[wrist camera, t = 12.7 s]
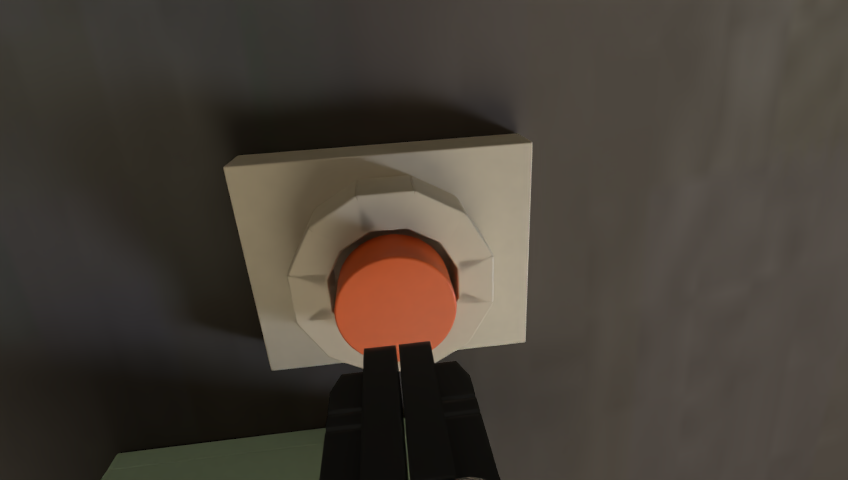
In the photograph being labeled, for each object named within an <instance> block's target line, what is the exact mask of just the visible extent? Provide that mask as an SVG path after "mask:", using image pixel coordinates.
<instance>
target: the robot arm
mask: <svg viewBox="0 0 848 480" xmlns="http://www.w3.org/2000/svg"><path fill="white" fill-rule="evenodd" d="M399 355H400V367H401V379H402V391H403V403H404V414H405V426H406V438H407V450H408V462H409V474H410V480H500V477H499V474H498V471H497V468H496V464H495V461H494V457H493V454H492V451H491V447H490V444H489V440H488V437H487V433H486V430H485V426H484V423H483V420H482V416H481V413H480V409H479V406H478V402H477V399H476V397H475V392H474V389H473V385H472V382H471V378H470V375H469V374H468V373H467V372H466V371H465V370H464V369H463V368H462V367H461V366H460V365H459V364H458V363H457V362H456V361H452V362H444V363H434V358H433V353H432V348H431V343H430V341H425V342H417V343H408V344H399ZM319 480H408V468H407V455H406V443H405V430H404V419H403V408H402V398H401V388H400V379H399V369H398V360H397V350H396V345H391V346H383V347H374V348H365V349H364V355H363V372H360V373H351V374H343V375H341V377H340V378H339V380H338V381H337V383H336V384H335V386H334V387H333V389H332V390H331V392H330V397H329V405H328V416H327V421H326V433H325V437H324V445H323V453H322V462H321V470H320V478H319Z"/></svg>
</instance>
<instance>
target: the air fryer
mask: <svg viewBox="0 0 848 480" xmlns="http://www.w3.org/2000/svg"><path fill="white" fill-rule="evenodd" d="M403 419H404V430H405V443H406V455H407V468H408V480H410V474H409V462H408V450H407V438H406V426H405V418H403ZM325 433H326V428H320V429H312V430H304V431H296V432H288V433H280V434H272V435H264V436H255V437H247V438H239V439H231V440H223V441H215V442H207V443H199V444H190V445H182V446H174V447H166V448H158V449H150V450H142V451H134V452H126V453H118V454H117V455H116V457H115V458H114V460H113V461H112V463H111V465H110V466H109V468H108V470H107V471H106V473H105V474H104V476H103V477H102V479H101V480H319V478H320V470H321V462H322V453H323V445H324V437H325Z"/></svg>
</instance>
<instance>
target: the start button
mask: <svg viewBox="0 0 848 480" xmlns="http://www.w3.org/2000/svg"><path fill="white" fill-rule="evenodd" d="M456 311H457V303H456V296H455V292H454V289H453V286H452V283H451V280H450V277H449V274H448V271H447V268H446V266H445V264H444V261H443V260H442V258H441V256H440V255H439V254H438V253H437V251H436V250H435V249H433V248H432V247H431V246H430V245H428V244H427V243H425V242H424V241H422V240H420V239H417V238H415V237H412V236H407V235H400V234H389V235H382V236H378V237H375V238H372V239H370V240H368V241H366V242H364V243H362V244H361V245H359V246H358V247H357V248H355V249H354V250H353V251H352V252H351V253H350V254H349V256H348V257H347V258H346V260H345V262H344V263H343V265H342V268H341V270H340V274H339V278H338V285H337V292H336V299H335V307H334V315H335V321H336V325H337V327H338V330H339V332H340V334H341V335H342V337H343V338H344V339H345V341H346V342H347V343H348V344H349V345H350V346H351V347H352V348H353V349H355V350H356V351H357V352H359V353H361V354H363V355H364V349H365V348H374V347H383V346H391V345H396V350H397V360H398V362H400V355H399V344H408V343H417V342H425V341H430V343H431V348H432V350H433V349H434V348H436V347H437V346H438V345H439V344H440V343H441V342H442V341H443V340H444V339H445V338H446V336H447V335H448V333H449V332H450V330H451V328H452V326H453V323H454V320H455V317H456Z"/></svg>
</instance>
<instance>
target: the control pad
mask: <svg viewBox="0 0 848 480" xmlns="http://www.w3.org/2000/svg"><path fill="white" fill-rule="evenodd" d="M223 169H224V174H225V178H226V182H227V186H228V191H229V195H230V199H231V203H232V207H233V212H234V216H235V220H236V224H237V228H238V233H239V237H240V241H241V245H242V249H243V254H244V258H245V262H246V266H247V270H248V275H249V279H250V283H251V287H252V292H253V296H254V300H255V304H256V308H257V313H258V317H259V321H260V325H261V329H262V334H263V338H264V342H265V346H266V350H267V355H268V359H269V363H270V367H271V370H272V371H274V370H283V369H292V368H301V367H310V366H319V365H327V364H336V363H347V364H350V365H353V366H356V367H359V368H362V369H363V354H361V353H359V352H357V351H356V350H355V349H353V348H352V347H351V346H350V345H349V344H348V343H347V342H346V341H345V339H344V338H343V337H342V335H341V334H340V332H339V330H338V327H337V325H336V321H335V315H334V307H335V299H336V292H337V285H338V278H339V274H340V270H341V268H342V265H343V263H344V262H345V260H346V258H347V257H348V256H349V254H350V253H351V252H352V251H353V250H354V249H355V248H357V247H358V246H359V245H361V244H362V243H364V242H366V241H368V240H370V239H372V238H375V237H378V236H382V235H389V234H400V235H407V236H412V237H415V238H417V239H420V240H422V241H424V242H425V243H427V244H428V245H430V246H431V247H432V248H433V249H435V250H436V251H437V253H438V254H439V255H440V256H441V258H442V260H443V261H444V264H445V266H446V268H447V271H448V274H449V277H450V280H451V283H452V286H453V289H454V292H455V296H456V303H457V311H456V317H455V320H454V323H453V326H452V328H451V330H450V332H449V333H448V335H447V336H446V338H445V339H444V340H443V341H442V342H441V343H440V344H439V345H438V346H437V347H436V348H434V349H433V350H432V353H433V358H434V363H436V362H438V361H439V360H441V359H443V358H444V357H446V356H448V355H449V354H451V353H453V352H454V351H456V350H460V349H469V348H478V347H486V346H495V345H504V344H513V343H522V342H525V339H526V311H527V283H528V255H529V227H530V199H531V171H532V142H531V141H529V140H528V139H526V138H524V137H523V136H521V135H519V134H517V133H515V134H502V135H490V136H477V137H464V138H452V139H439V140H426V141H414V142H401V143H388V144H376V145H363V146H351V147H338V148H325V149H313V150H300V151H287V152H275V153H262V154H249V155H238V156H236V157H235V158H234V159H233V160H232V161H230V162H229V163H228V164H227V165H225V166H224V167H223ZM398 369H399V371H401V367H400V362H398Z"/></svg>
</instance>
